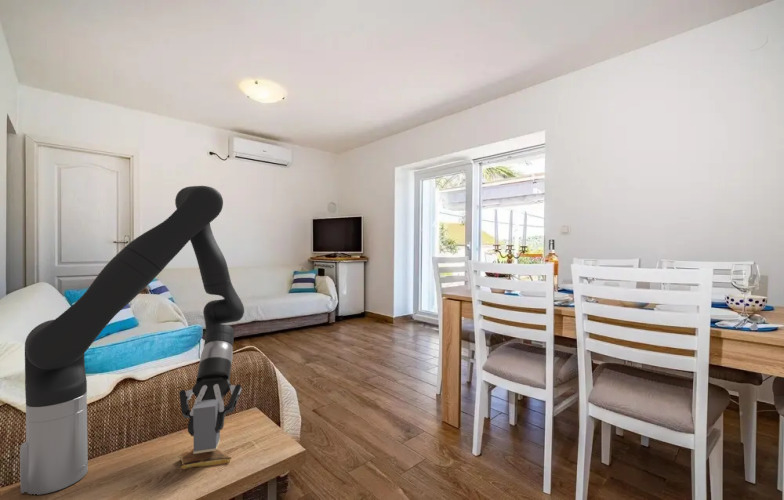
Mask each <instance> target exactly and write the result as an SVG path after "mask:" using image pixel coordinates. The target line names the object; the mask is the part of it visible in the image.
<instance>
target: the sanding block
mask: <svg viewBox="0 0 784 500" xmlns="http://www.w3.org/2000/svg"><path fill="white" fill-rule="evenodd" d="M218 405H219V399H218V400H216V399H208V400H202V401H201V402H197V404H196V405H195V407H194V408H193V407H192V408H193V430H194V436H193V448H194V452H193V454H197V453H203V452H210V451H216V450H218V447H219V444H220V442H221V431H220V432H219V433H216V431H215V427H216V421H217V413H218V412H219V410H218Z"/></svg>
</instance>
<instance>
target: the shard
mask: <svg viewBox="0 0 784 500" xmlns="http://www.w3.org/2000/svg"><path fill="white" fill-rule="evenodd" d="M193 452H194V447H193V448H192V449H189V450H187V451H185V452H183V453H181V454H179V455H178V456H177V459H179V460H180V461H181V470H185V469H192V468H194V467H196V468H197V467H208V466H215V465H222V464H226V463H227V464H229V463H230V462H231V460H232V457H230V456H229V455H227V454H224V452H222V450H221V451H220V450H219V449H217V450H216V451H210V452H203V453H197V454H193Z"/></svg>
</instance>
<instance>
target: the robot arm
mask: <svg viewBox="0 0 784 500" xmlns="http://www.w3.org/2000/svg"><path fill="white" fill-rule="evenodd" d="M223 199H224V198H223V196H222V194H221V192H220V191H218V190H217V189H216V188H214V187H212V186H208V185H193V186H191V185H190V186H186V187H183V188H182V189H180V190H179V191H178V192H177V194H176V196H175V199H174V201H175V202H174V204H175V208H176V210H174V212H173V213H171V215H170V216H169V217H167V218H166V219H165V220H163V221H162V222H160V223H159V224H157V225H155V226H154V227H152V228H151V229H149V230H147V231H145V232H143V233H142V234H141V235H138V236H137V237H136V238H134V239H133V240H132V241H130V242H129V243H128V244H126V245H125V246H124V247H123V248H122V249H121V250H120V251H119V252H118V253H117V254H116V255H115V256H113V257H112V258H111V260H110V261H109V262H108V263H106V265H105V266H104V267H103V269H102V270H101V271H100V272H99V273H98V275H97V276H96V277H95V278H94V280H93V281H92V283H91V284H90V286H88V288H87V290H86V291H85V292H84V293H83V294H82V295H81V296H80V298H78V300H77V301H75V302H74V303H73V304H72V305H71V306H70V307H68V308H67V309H66V310H65V311H64V312H62V313H61V314H60V315H59V316H58V317H56V318H55V319H50V320H47V321H44V322H42V323H40V324H38V325H36V326H35V327H34V328H33V329H32V330H30V332H29V333H28V335H27V336H26V338H25V340H24V341H25V342H24V389H25V390H24V391H25V392H24V393H25V441H24V442H23V443H21V445H20V446H19V450H20V451H19V453H20V454H19V456H20V457H19V463H20V464H19V465H20V466H19V467H20V468H19V469H20V480H19V481H20V494H21V493H22V494H25V493H24V492H27V493H26V494H29V495H32V494H34V495H33V496H37V495H38V496H39V495H45V494H50V493H54V492H57V491H60V490H62V489H65V488H67V487H70V486H72V485H74V484H75V483H77V482H78V481H80V480H82V479H83V478H84V477H85V476H86V474H87V473H88V471H89V470H88V466H89V460H88V451H89V450H88V398H87V397H88V394H87V393H88V391H87V390H88V389H87V388H88V386H87V385H88V383H87V382H88V381H87V375H86V367H85V366H86V365H85V354H86V353H87V350H88V349H89V348H90V346H91V345H92V344H93V343H94V341H95V340H96V339H97V337H99V336H100V334H101V332H102V331H103V330H105V328H106V326H107V325H108V324H109V323H110V322H111V321H112V320H113V319H114V317H115V316H117V314H119V313H120V311H122V310H123V309H124V308H125V307H126V306H127V305H128V304H129V303H130V302H132V301H133V300H134V299H135V298H136V297H137V296H138V295H139V294H140V293H141V292H142V291H143V290H144V289H145V288H146V287H147V286H148V285H149V284H151V283H152V281H153V280H154V279H155V278H156V277H157V276H158V275H160V274H161V272H163V270H164V269H165V268H166V267H167V266H168V265H169V263H170V262H171V261H172V260H173V259H174V258H175V257H177V255H178V254H179V253H180V251H182V249H183V248H184V247H185V246H186V245H187V243H189V242H190V243H191V246H192V249H193V251H194V254H195V255H194V256H195V257H196V261H197V264H198V269H199V273H200V276H201V281H202V284H203V288H204V291H205V293H206V294H208V295H212V296H214V295H215V296H219V297H221V298H222V299H215V300H210V301H208V302H207V303H206V304H205V306H204V307H203V312H202V314H203V318H204V324H205V337H204V344H203V349H202V351H201V354H200V360H199V364H198V365H199V366H198V370H197V375H196V380H195V384H194V385H193V387H192V388H191V389H188V390H185V389H181V390H180V391H179V392H178V393H179V402H180V410H181V414H182V416H183V418H184V419H189V420H188V424H187V425H188V426H187V433H188V434H189V435H190V437H194V430H193V408H194V407H195V405H196V404H197V402H201V401H202V400H208V399H216V400H218V399H219V405H218V410H219V412H218V413H217V421H216V427H215V431H216V433H219V432H220V433H221V430H223V428H224V424H225V417H226V415H227V414H229V413H230V414H231V413H234V410H235V408H236V407H237V406H236V405H237V403H238V401H239V399H240V396H241V394H242V391H243V390H242V389H243V388H242V386H241V384H240V383H238V384H237V383H236V385H235V384H231V380H230V379H231V373H232V364H233V357H234V356H233V353H234V352H233V349H234V348H233V347H234V340H235V339H234V338H235V330H234V328H233V327H232V326H230V325H227V324H228V323H229V324H230V323H234V322H238V321H240V320H242V318H243V316H244V314H245V307H244V304H243V302H242V300H241V298H240V297H239V295H238V293H237V291H236V289H235V287H234V286H233V284H232V281H231V280H232V279H231V276H230V272H229V268H228V264H227V261H226V258H225V256H224V254H223V252H222V251H221V248H220V247H219V245H218V243H217V241H216V239H215V236H214V234H213V231H212V227H211V222H212V223H213V221H214V220H215V219H216V218H217V217H219V215H220V214H221V212H222V209H223V207H224V200H223ZM229 392H230V394H231V396H230V398H229V401H228V403H227V404H226V405H225V404H224V398H225V396H226V395H228V393H229ZM192 395H194V397H195V398H196V399H195V401H194V403H193V406H192V408H191V409H190V405H189V401H190V400H192ZM35 494H37V495H35Z"/></svg>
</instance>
